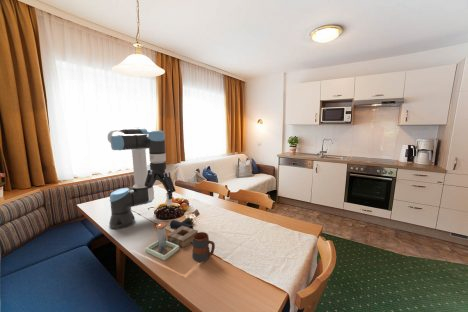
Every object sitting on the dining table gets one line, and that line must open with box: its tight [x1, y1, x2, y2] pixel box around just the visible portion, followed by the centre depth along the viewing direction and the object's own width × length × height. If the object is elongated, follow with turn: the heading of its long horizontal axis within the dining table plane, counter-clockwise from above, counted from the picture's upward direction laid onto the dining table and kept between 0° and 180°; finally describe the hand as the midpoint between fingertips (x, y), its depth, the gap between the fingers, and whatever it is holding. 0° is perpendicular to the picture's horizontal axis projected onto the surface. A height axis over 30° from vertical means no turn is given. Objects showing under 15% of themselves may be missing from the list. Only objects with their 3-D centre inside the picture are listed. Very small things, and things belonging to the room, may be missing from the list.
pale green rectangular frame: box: [144, 240, 180, 261], centre depth 102 cm, size 14×10×3 cm
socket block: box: [166, 226, 199, 248], centre depth 112 cm, size 12×12×5 cm
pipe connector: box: [169, 216, 194, 230], centre depth 127 cm, size 12×5×15 cm
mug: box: [192, 231, 216, 263], centre depth 97 cm, size 9×12×12 cm
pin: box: [155, 221, 167, 254], centre depth 101 cm, size 5×5×15 cm
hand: (160, 202), depth 100 cm, fingers open, 13 cm apart
